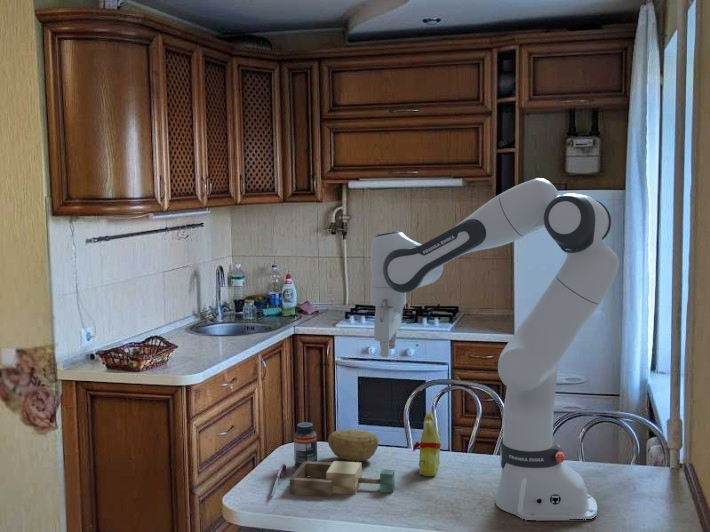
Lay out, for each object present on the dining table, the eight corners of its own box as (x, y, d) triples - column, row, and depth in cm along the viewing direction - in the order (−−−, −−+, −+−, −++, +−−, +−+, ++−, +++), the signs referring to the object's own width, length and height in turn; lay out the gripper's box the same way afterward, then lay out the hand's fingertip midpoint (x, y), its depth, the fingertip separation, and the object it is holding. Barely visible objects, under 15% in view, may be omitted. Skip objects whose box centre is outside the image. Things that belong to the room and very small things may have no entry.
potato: (337, 451, 224) (337, 422, 224) (384, 458, 218) (384, 428, 218) (320, 462, 216) (320, 432, 215) (369, 469, 210) (369, 439, 209)
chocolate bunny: (442, 463, 214) (442, 407, 212) (437, 478, 203) (437, 419, 201) (416, 461, 215) (416, 406, 214) (410, 476, 205) (409, 418, 203)
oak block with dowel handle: (396, 484, 200) (395, 464, 199) (391, 496, 192) (390, 476, 191) (334, 480, 203) (333, 460, 202) (326, 492, 195) (326, 472, 194)
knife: (282, 471, 210) (281, 460, 210) (287, 471, 210) (286, 460, 209) (269, 502, 190) (268, 490, 189) (274, 503, 190) (274, 490, 189)
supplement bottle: (305, 461, 217) (304, 419, 215) (322, 466, 213) (321, 423, 212) (289, 467, 212) (288, 424, 211) (306, 472, 208) (305, 429, 207)
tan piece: (342, 476, 205) (342, 463, 204) (331, 496, 192) (330, 482, 192) (304, 474, 207) (304, 460, 206) (289, 493, 194) (289, 479, 194)
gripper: (394, 303, 191) (394, 361, 193) (406, 291, 211) (406, 344, 213) (367, 303, 193) (368, 360, 194) (382, 291, 213) (382, 343, 214)
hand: (388, 352), depth 204 cm, fingers open, 8 cm apart
